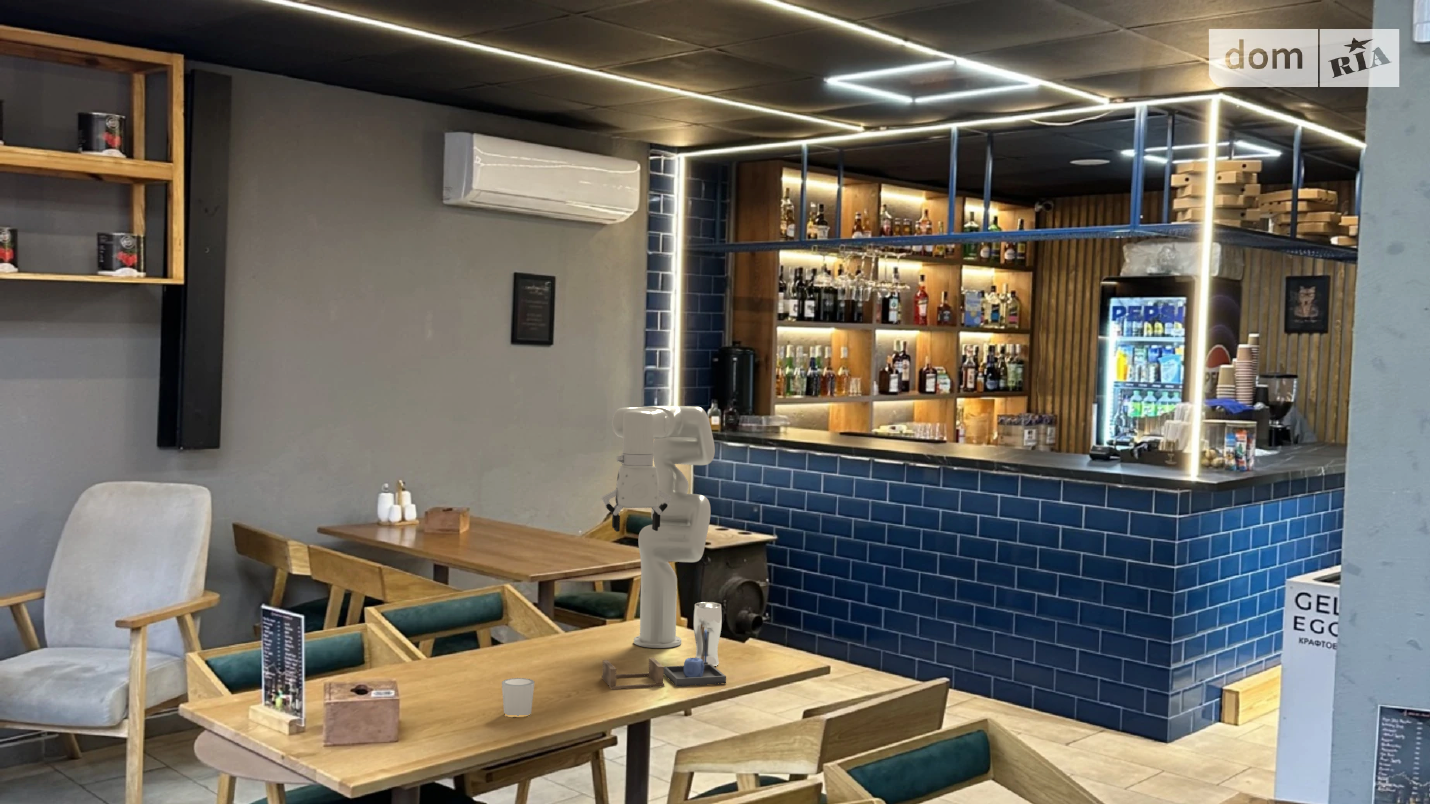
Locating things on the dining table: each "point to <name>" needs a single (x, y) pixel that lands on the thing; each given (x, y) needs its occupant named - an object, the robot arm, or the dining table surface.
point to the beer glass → (707, 631)
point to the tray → (709, 677)
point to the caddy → (633, 675)
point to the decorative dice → (693, 667)
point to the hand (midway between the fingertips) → (636, 530)
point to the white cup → (517, 696)
